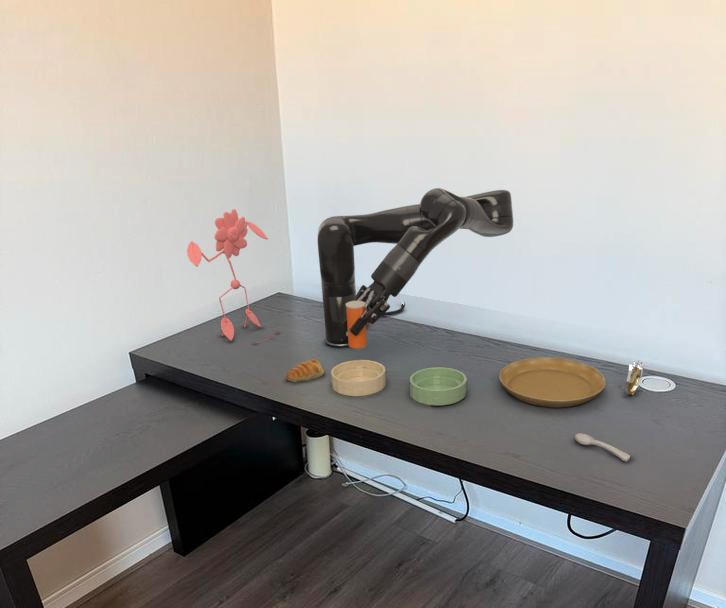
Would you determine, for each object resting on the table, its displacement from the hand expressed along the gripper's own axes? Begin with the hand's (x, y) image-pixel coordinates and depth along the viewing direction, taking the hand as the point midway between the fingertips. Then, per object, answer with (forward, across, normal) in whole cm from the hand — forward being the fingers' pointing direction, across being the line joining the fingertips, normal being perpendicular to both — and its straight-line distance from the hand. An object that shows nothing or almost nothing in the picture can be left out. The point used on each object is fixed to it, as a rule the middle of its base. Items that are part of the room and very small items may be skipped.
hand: (349, 329), depth 160 cm
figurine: (+22, +48, 0) cm, 52 cm away
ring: (-30, -32, -51) cm, 67 cm away
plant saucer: (-19, -22, -40) cm, 50 cm away
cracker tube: (+1, 0, -4) cm, 5 cm away
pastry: (+17, +11, -5) cm, 21 cm away
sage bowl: (-2, -13, -22) cm, 26 cm away
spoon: (-15, -50, -36) cm, 63 cm away
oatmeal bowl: (+9, 0, -12) cm, 15 cm away
